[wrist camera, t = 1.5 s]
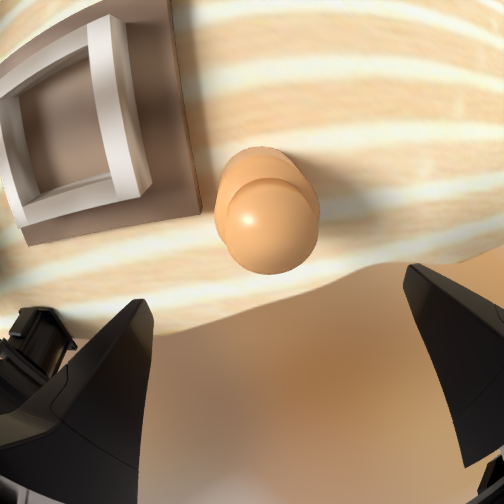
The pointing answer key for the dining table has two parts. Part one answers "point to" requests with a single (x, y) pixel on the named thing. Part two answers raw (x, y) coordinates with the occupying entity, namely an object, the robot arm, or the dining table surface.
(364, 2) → the dining table surface
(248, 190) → the tan rounded cylinder
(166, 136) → the collar board
